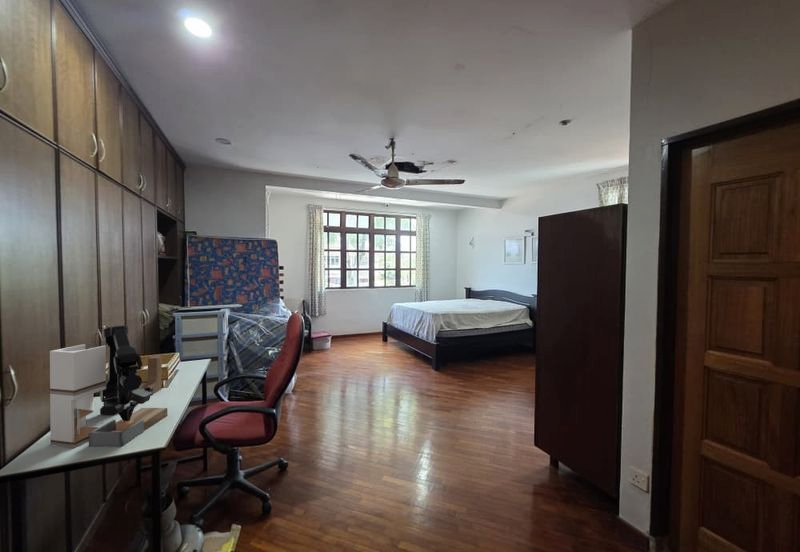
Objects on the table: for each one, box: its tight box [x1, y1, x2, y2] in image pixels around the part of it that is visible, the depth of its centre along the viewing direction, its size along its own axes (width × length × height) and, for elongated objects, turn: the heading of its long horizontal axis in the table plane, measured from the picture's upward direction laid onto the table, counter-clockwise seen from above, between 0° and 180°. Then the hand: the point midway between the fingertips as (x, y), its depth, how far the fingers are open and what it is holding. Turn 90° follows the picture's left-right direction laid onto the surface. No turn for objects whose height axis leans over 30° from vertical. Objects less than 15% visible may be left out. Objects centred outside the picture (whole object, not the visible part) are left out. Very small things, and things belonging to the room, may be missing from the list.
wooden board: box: [116, 407, 168, 432], centre depth 144 cm, size 11×15×4 cm
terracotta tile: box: [116, 420, 134, 431], centre depth 134 cm, size 5×5×2 cm
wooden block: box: [141, 355, 162, 395], centre depth 180 cm, size 9×4×18 cm, turn 6°
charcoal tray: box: [88, 419, 145, 448], centre depth 131 cm, size 12×11×5 cm
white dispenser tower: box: [49, 343, 107, 449], centre depth 130 cm, size 11×11×35 cm
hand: (127, 422), depth 136 cm, fingers closed
